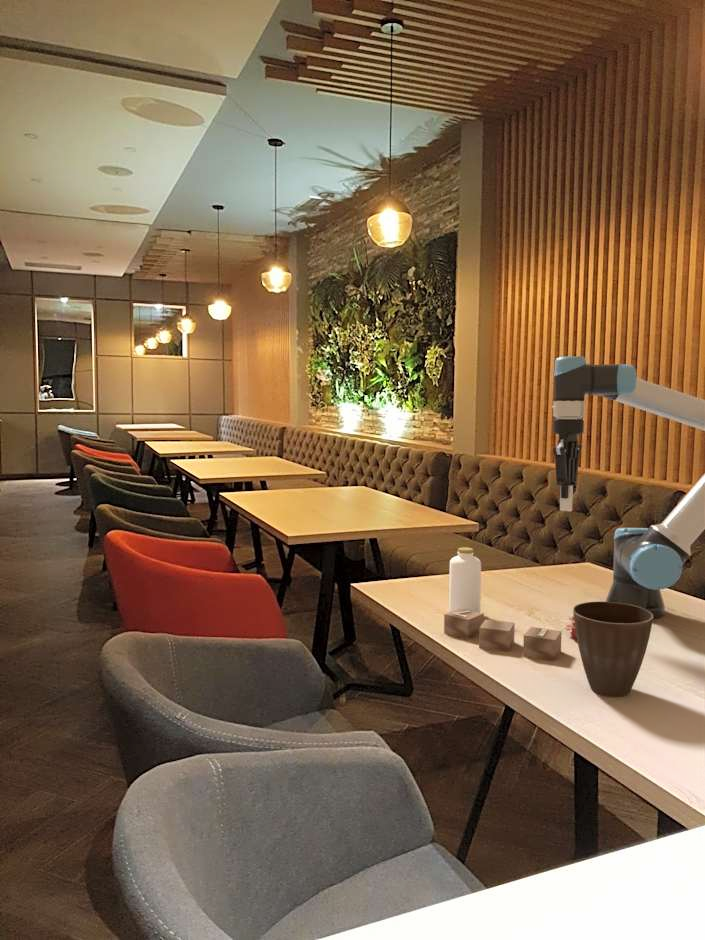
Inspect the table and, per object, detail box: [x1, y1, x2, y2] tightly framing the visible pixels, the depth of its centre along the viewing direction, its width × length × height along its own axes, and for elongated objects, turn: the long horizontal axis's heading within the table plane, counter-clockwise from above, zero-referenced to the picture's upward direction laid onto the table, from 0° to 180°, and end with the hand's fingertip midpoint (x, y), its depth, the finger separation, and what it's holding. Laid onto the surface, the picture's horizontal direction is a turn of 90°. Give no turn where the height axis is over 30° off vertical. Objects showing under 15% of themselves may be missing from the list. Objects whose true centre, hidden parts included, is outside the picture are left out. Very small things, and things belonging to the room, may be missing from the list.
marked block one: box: [522, 626, 562, 662], centre depth 167 cm, size 7×7×5 cm
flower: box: [564, 614, 577, 639], centre depth 178 cm, size 10×9×8 cm
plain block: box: [478, 618, 515, 652], centre depth 174 cm, size 7×7×5 cm
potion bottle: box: [448, 546, 482, 613], centre depth 197 cm, size 8×8×18 cm
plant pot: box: [572, 601, 654, 698], centre depth 146 cm, size 15×15×16 cm
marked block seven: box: [443, 608, 485, 640], centre depth 183 cm, size 7×7×5 cm
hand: (566, 510), depth 188 cm, fingers closed
